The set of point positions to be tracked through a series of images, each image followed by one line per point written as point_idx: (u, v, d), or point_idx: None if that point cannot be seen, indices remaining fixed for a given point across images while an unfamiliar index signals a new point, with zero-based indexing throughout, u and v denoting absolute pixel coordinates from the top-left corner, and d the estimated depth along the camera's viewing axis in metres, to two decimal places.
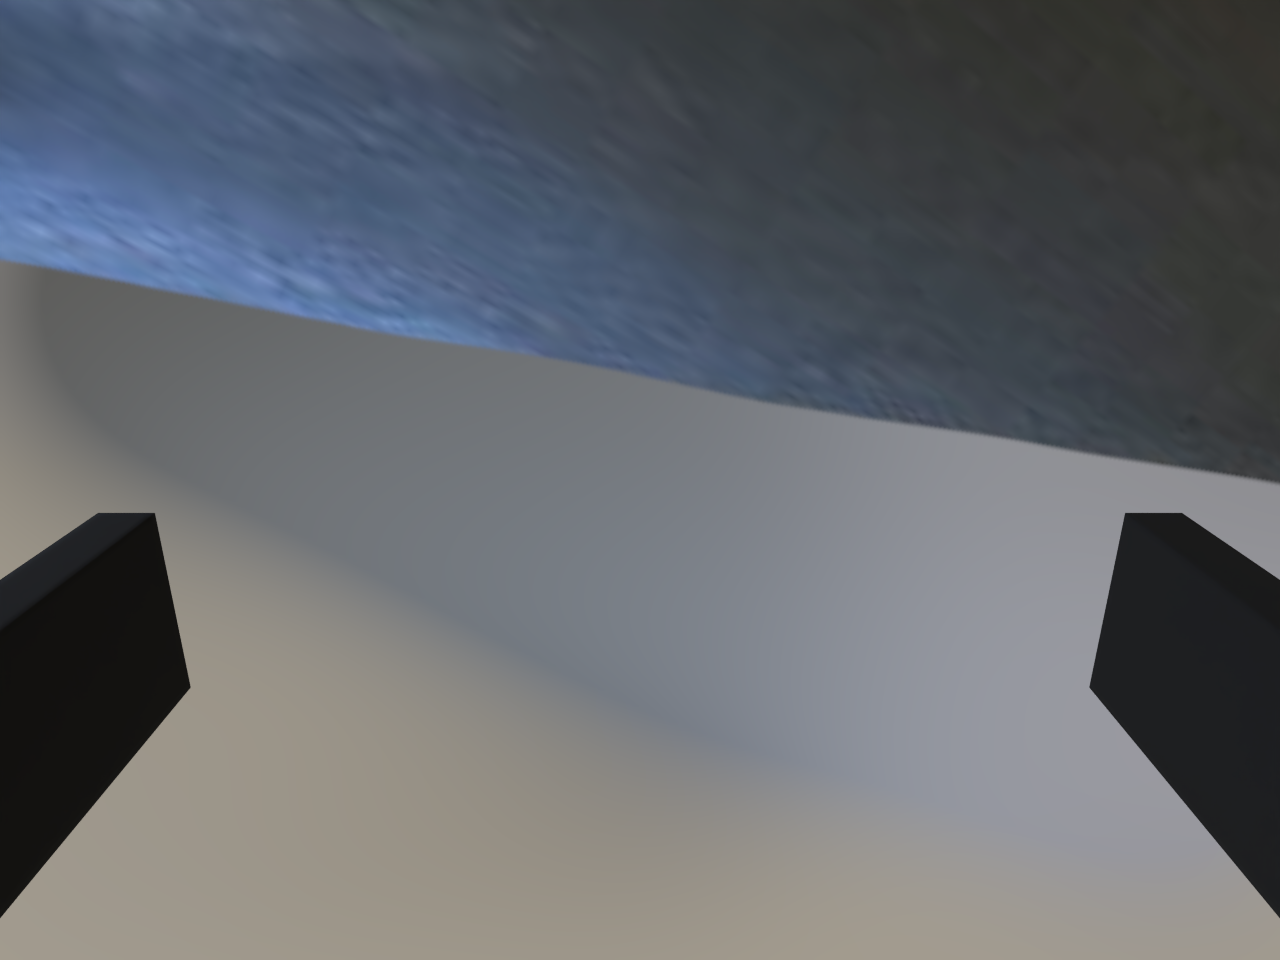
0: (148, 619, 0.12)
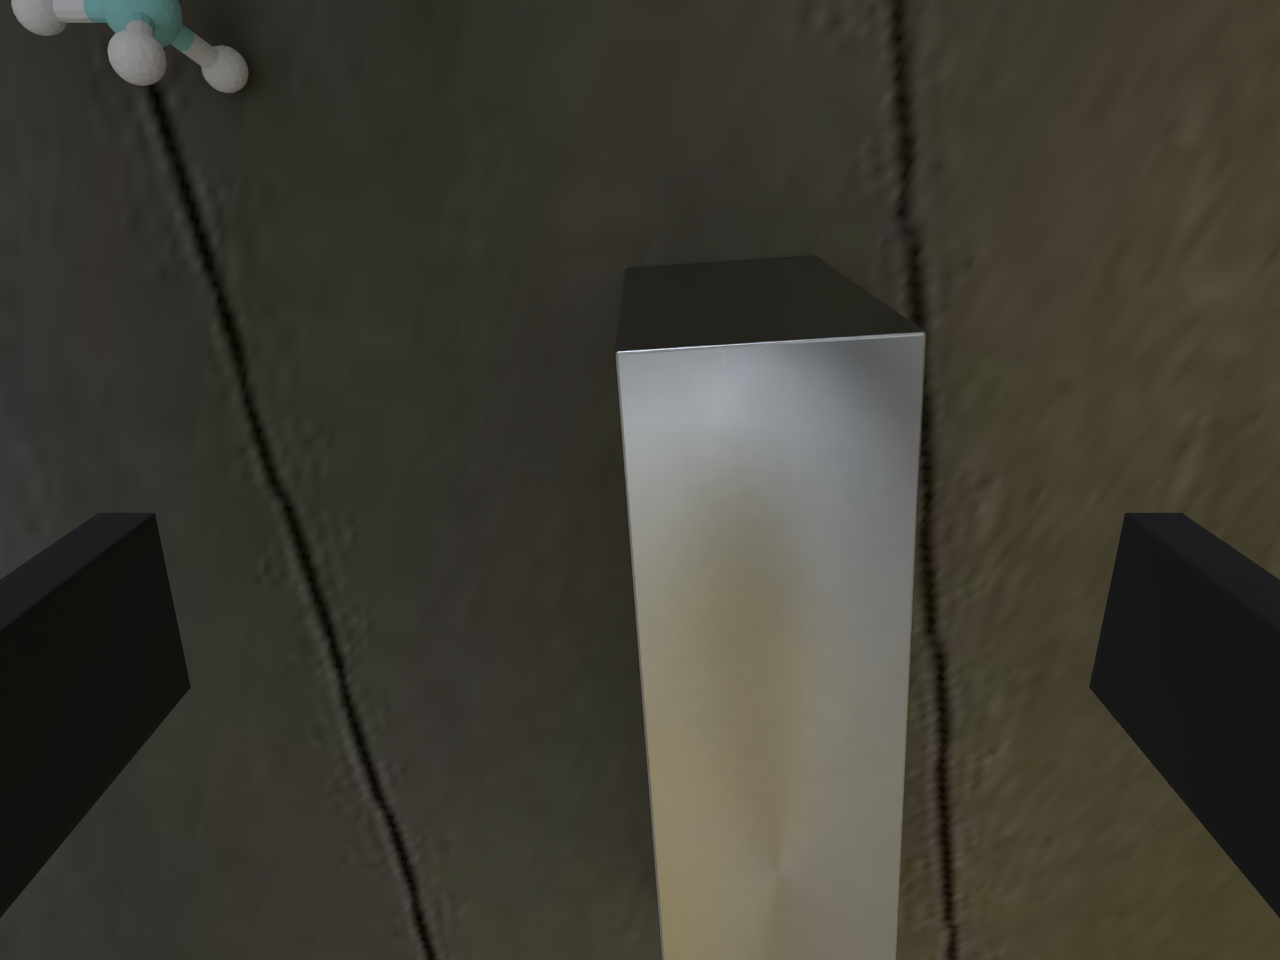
0: (148, 619, 0.12)
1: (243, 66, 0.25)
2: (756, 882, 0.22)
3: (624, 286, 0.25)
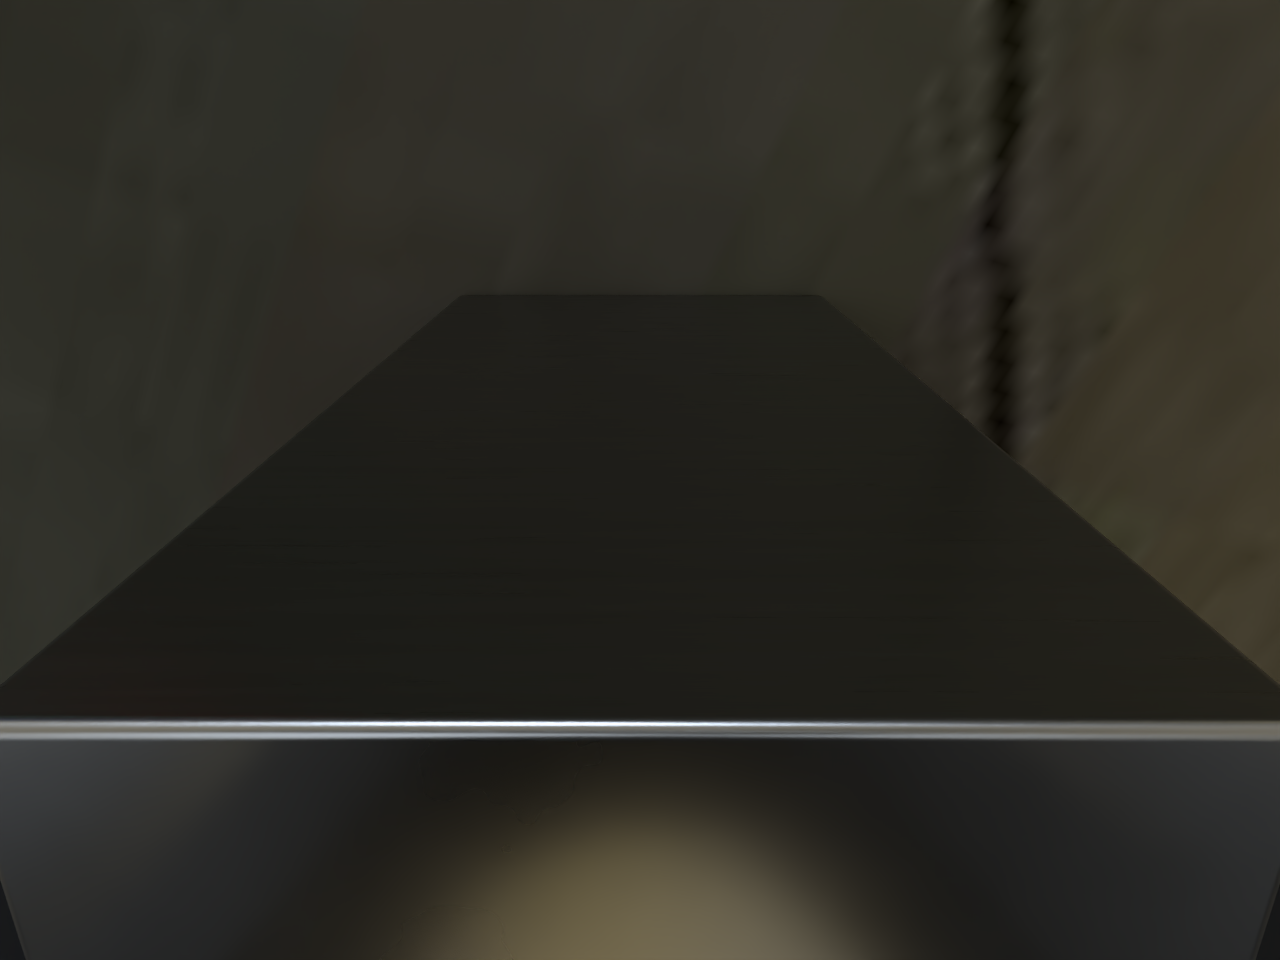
0: None
1: None
2: None
3: (408, 340, 0.11)
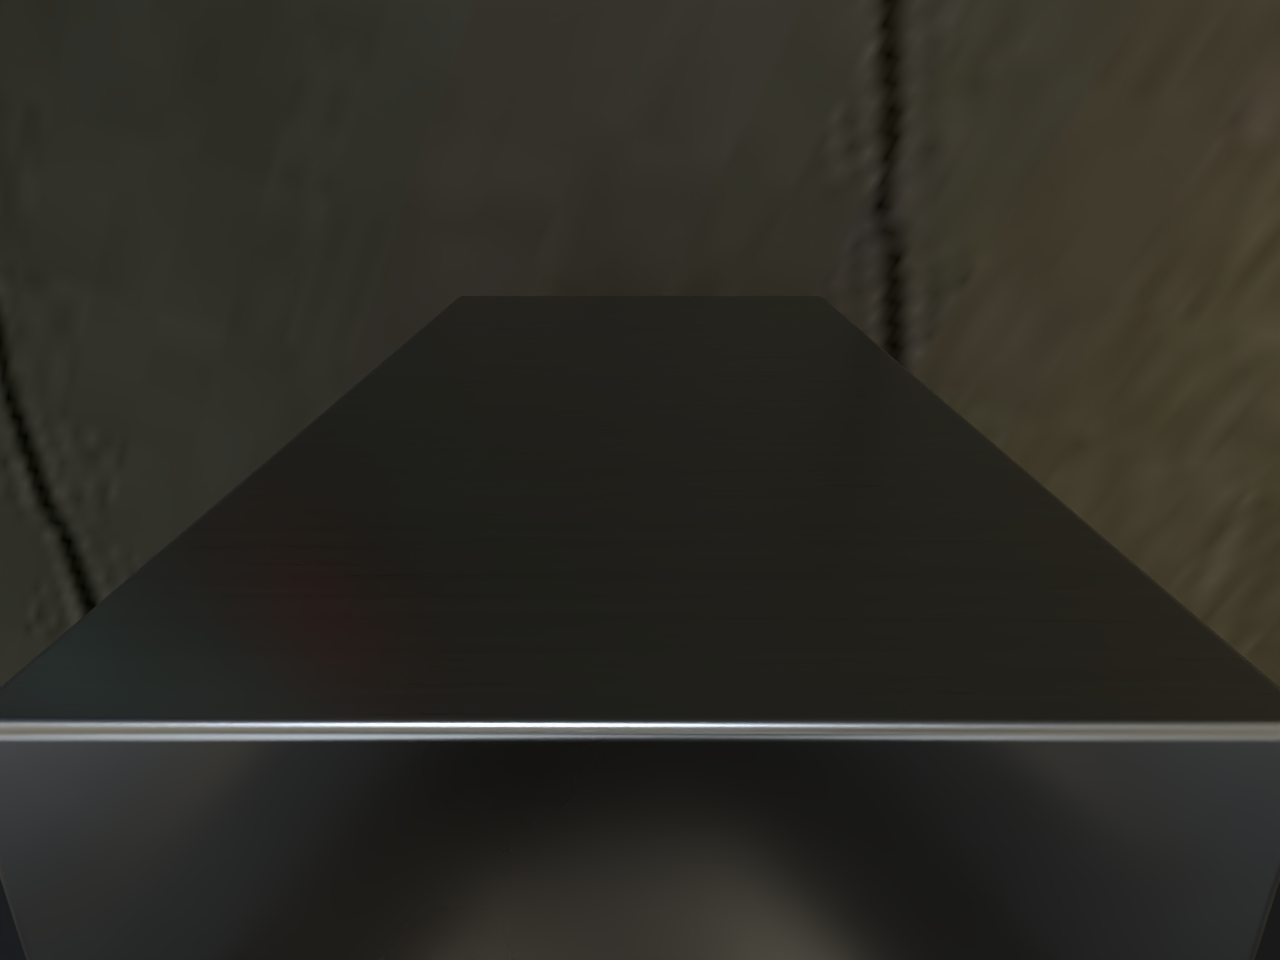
0: None
1: None
2: None
3: (408, 341, 0.11)
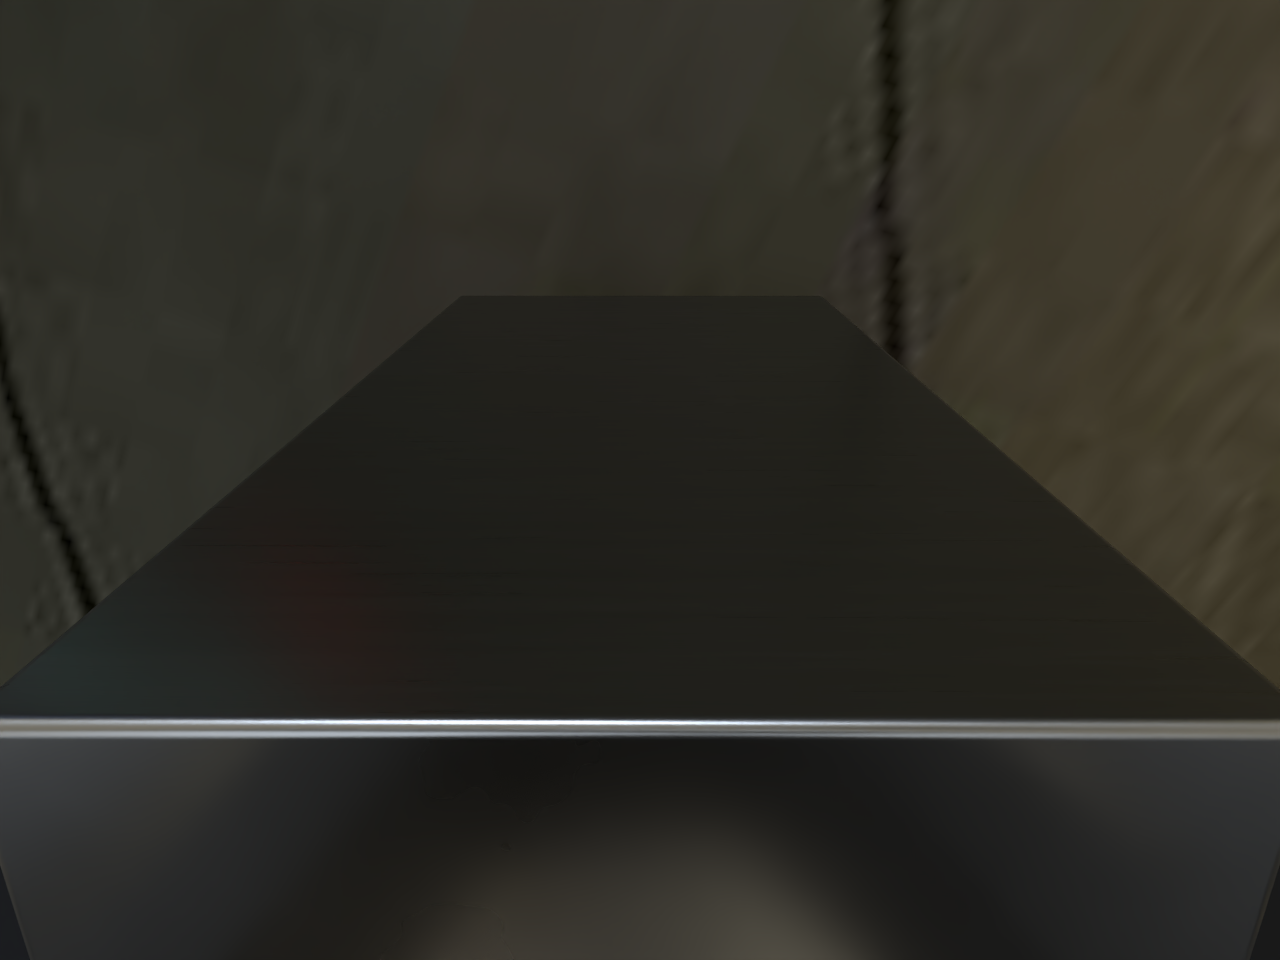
0: None
1: None
2: None
3: (409, 341, 0.11)
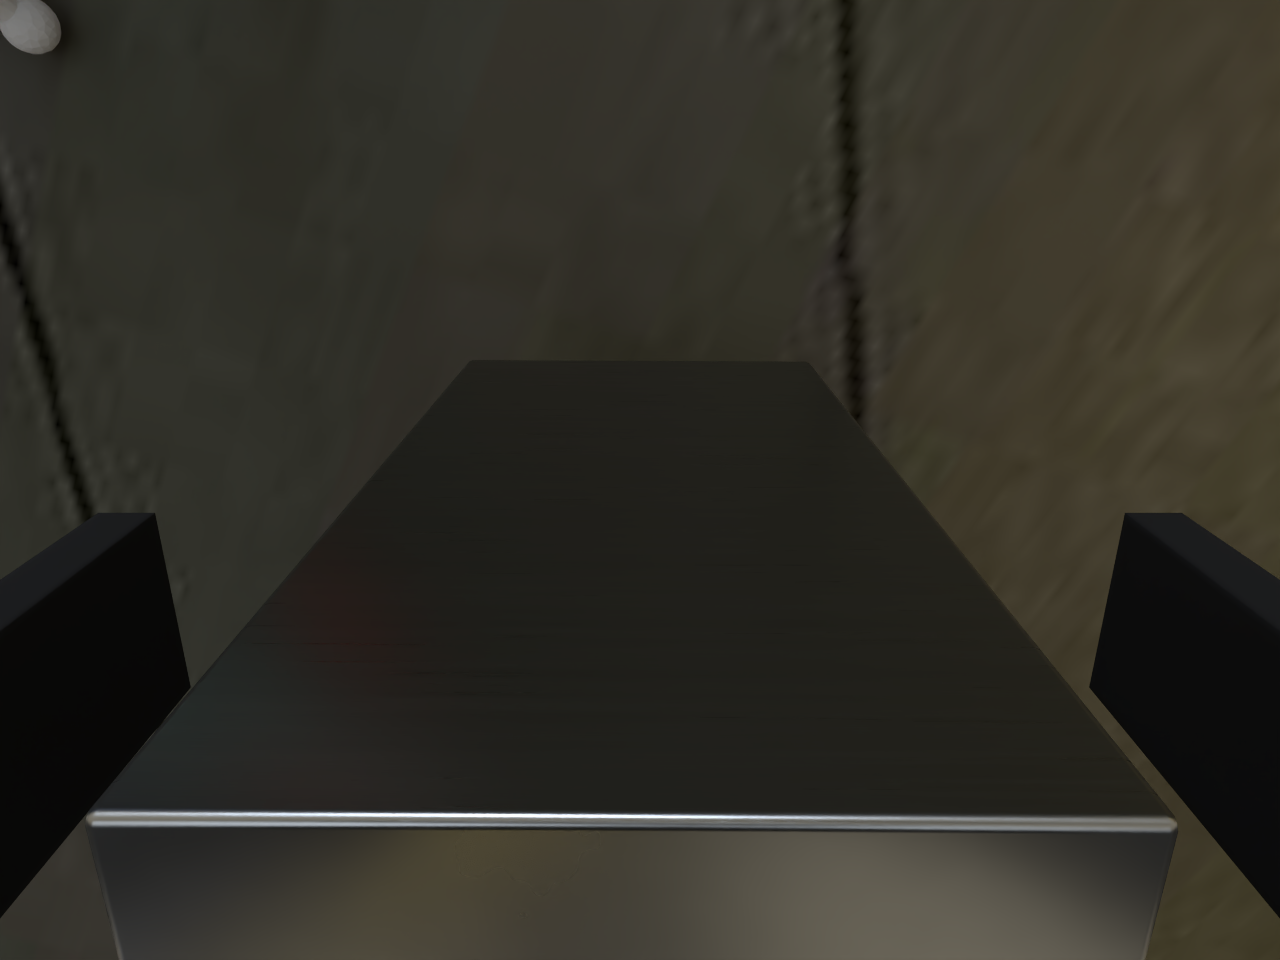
0: (148, 619, 0.12)
1: (51, 23, 0.21)
2: None
3: (425, 415, 0.12)
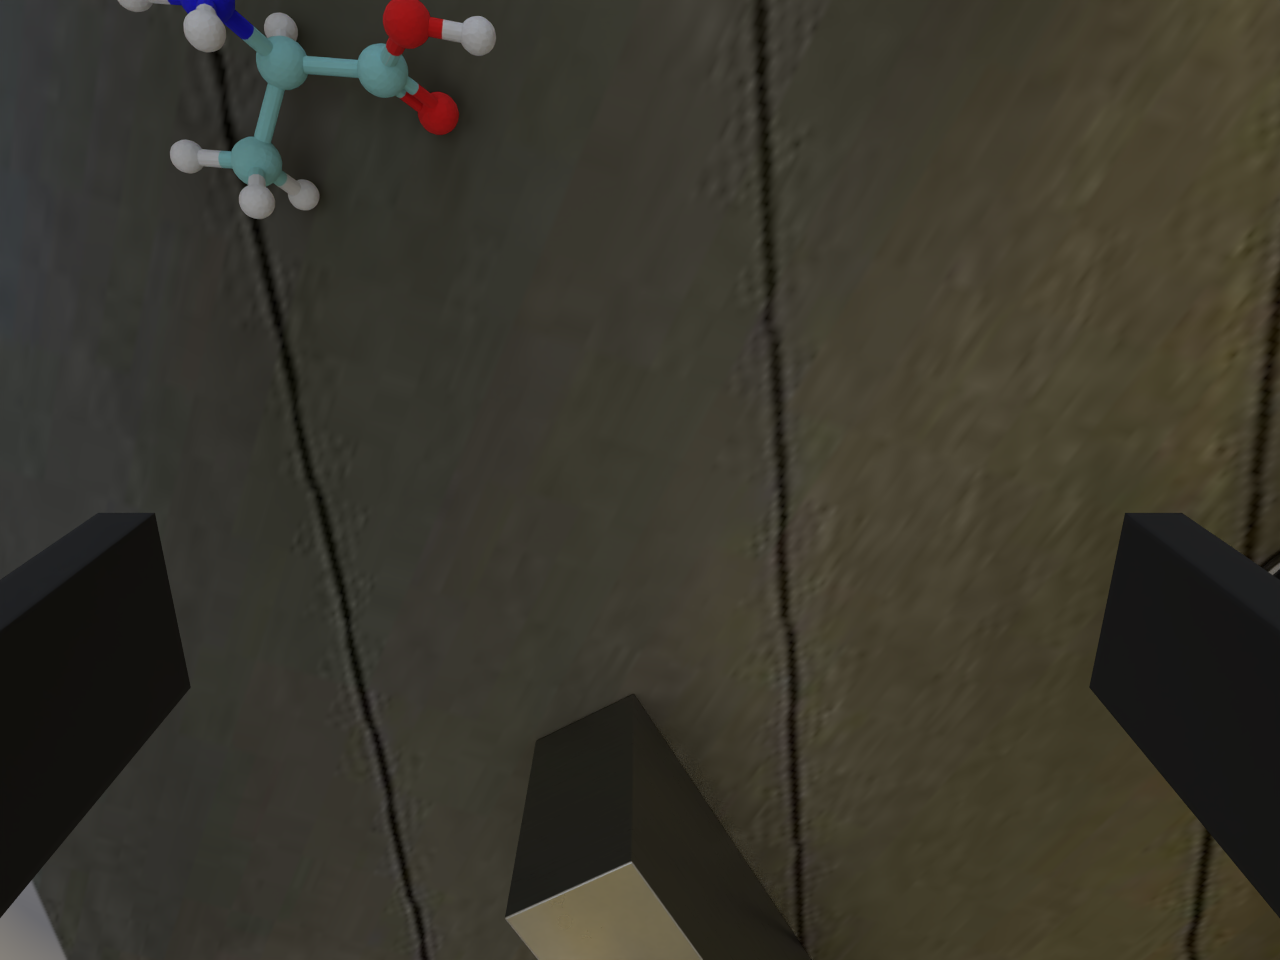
0: (148, 619, 0.12)
1: (316, 194, 0.37)
2: None
3: (528, 785, 0.44)
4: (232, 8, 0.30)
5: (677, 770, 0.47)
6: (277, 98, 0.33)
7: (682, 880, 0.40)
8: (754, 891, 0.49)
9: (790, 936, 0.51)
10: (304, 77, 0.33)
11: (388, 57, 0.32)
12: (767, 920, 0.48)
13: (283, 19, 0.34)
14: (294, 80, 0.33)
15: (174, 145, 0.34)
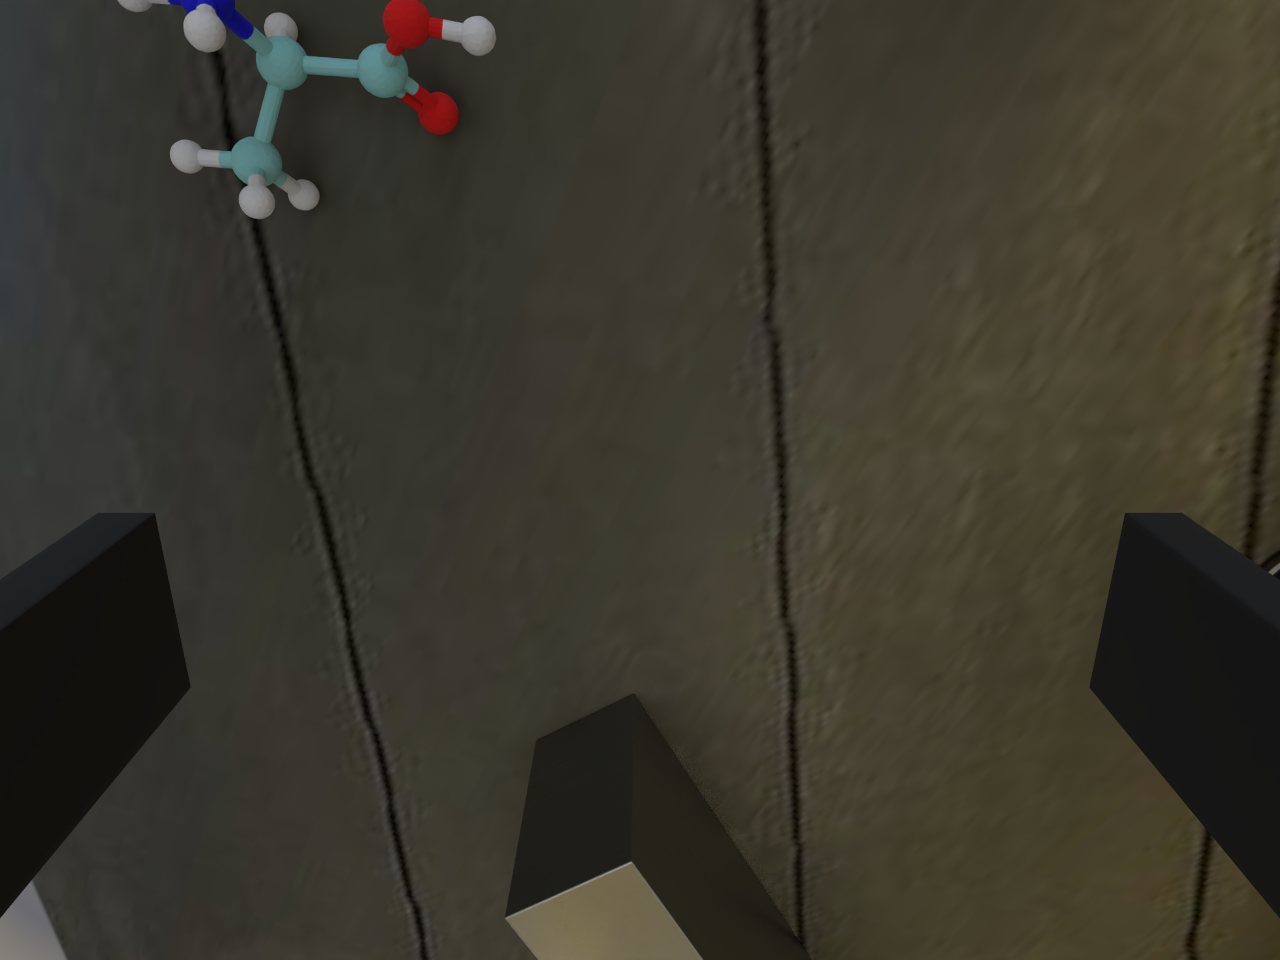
0: (148, 619, 0.12)
1: (316, 194, 0.37)
2: None
3: (528, 785, 0.44)
4: (232, 8, 0.30)
5: (677, 770, 0.47)
6: (277, 98, 0.33)
7: (682, 880, 0.40)
8: (754, 891, 0.49)
9: (790, 936, 0.51)
10: (304, 77, 0.33)
11: (388, 57, 0.32)
12: (767, 920, 0.48)
13: (283, 19, 0.34)
14: (294, 80, 0.33)
15: (174, 145, 0.34)
